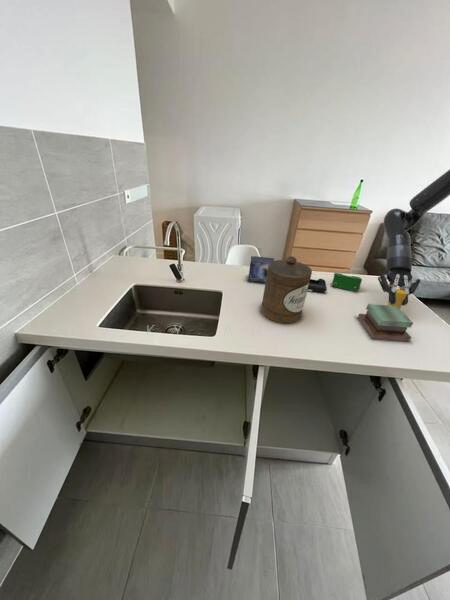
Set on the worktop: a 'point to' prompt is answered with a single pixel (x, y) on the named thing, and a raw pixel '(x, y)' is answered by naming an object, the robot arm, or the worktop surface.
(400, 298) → the bar
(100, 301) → the worktop surface
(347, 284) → the green block
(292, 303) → the wooden container
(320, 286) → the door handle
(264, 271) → the small box
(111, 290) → the worktop surface
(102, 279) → the worktop surface
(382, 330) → the two-tone stepped base
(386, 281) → the robot arm
